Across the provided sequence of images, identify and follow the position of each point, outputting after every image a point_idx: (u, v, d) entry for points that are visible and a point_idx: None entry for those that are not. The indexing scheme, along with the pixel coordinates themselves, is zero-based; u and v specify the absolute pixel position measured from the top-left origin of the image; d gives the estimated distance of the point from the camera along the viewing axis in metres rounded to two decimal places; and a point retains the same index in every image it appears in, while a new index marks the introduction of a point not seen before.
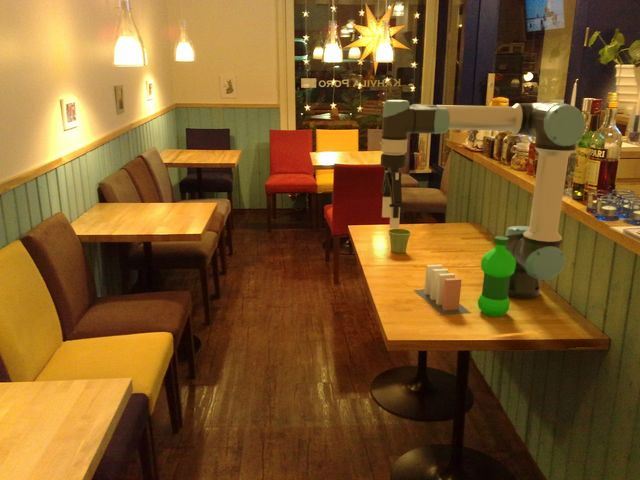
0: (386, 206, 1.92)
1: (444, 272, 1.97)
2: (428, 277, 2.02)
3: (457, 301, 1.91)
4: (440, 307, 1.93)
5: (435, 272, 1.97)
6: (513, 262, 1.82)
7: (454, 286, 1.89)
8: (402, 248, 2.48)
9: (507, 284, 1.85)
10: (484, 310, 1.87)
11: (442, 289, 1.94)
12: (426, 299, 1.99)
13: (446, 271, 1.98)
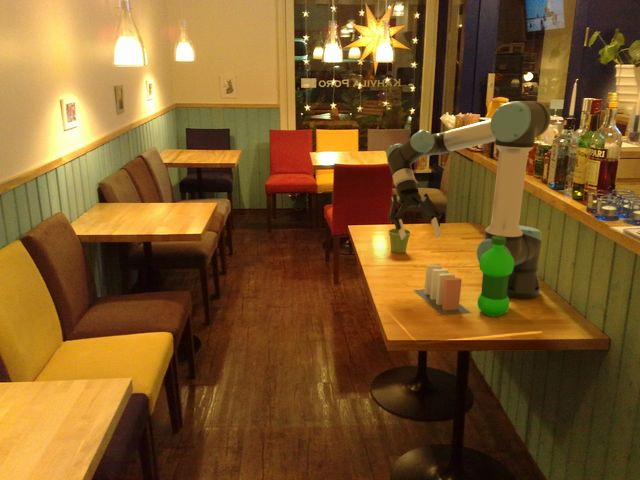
0: (434, 227, 2.12)
1: (444, 272, 1.97)
2: (428, 277, 2.02)
3: (457, 301, 1.91)
4: (440, 307, 1.93)
5: (435, 272, 1.97)
6: (511, 261, 1.82)
7: (454, 286, 1.89)
8: (402, 248, 2.48)
9: (506, 284, 1.85)
10: (484, 310, 1.87)
11: (442, 289, 1.94)
12: (426, 299, 1.99)
13: (446, 271, 1.98)
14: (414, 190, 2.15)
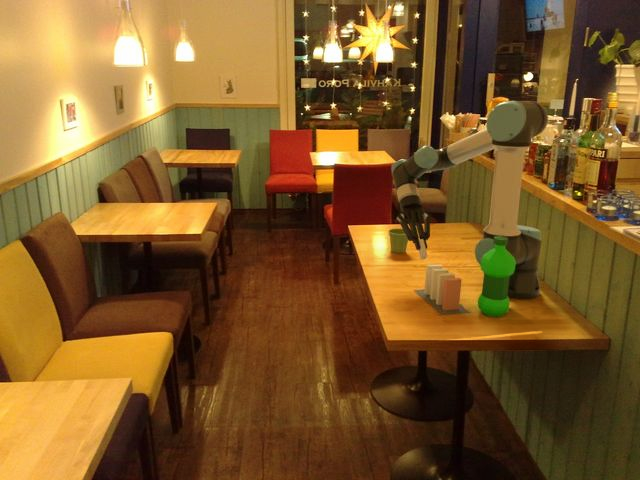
0: None
1: (444, 272, 1.97)
2: (428, 277, 2.02)
3: (457, 301, 1.91)
4: (440, 307, 1.93)
5: (435, 272, 1.97)
6: (513, 262, 1.82)
7: (454, 286, 1.89)
8: (402, 248, 2.48)
9: (507, 284, 1.84)
10: (484, 310, 1.87)
11: (442, 289, 1.94)
12: (426, 299, 1.99)
13: (446, 271, 1.98)
14: (417, 205, 2.16)
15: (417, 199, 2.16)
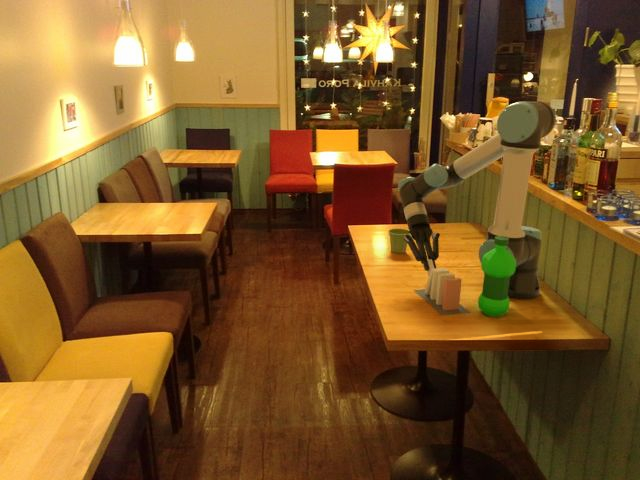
0: (430, 269, 2.05)
1: (445, 273, 1.97)
2: (430, 280, 2.00)
3: (457, 301, 1.91)
4: (440, 307, 1.93)
5: (436, 273, 1.96)
6: (513, 262, 1.82)
7: (454, 286, 1.89)
8: (402, 248, 2.48)
9: (507, 284, 1.84)
10: (484, 310, 1.87)
11: (442, 289, 1.94)
12: (426, 299, 1.99)
13: (447, 272, 1.97)
14: (425, 224, 2.11)
15: (425, 218, 2.10)
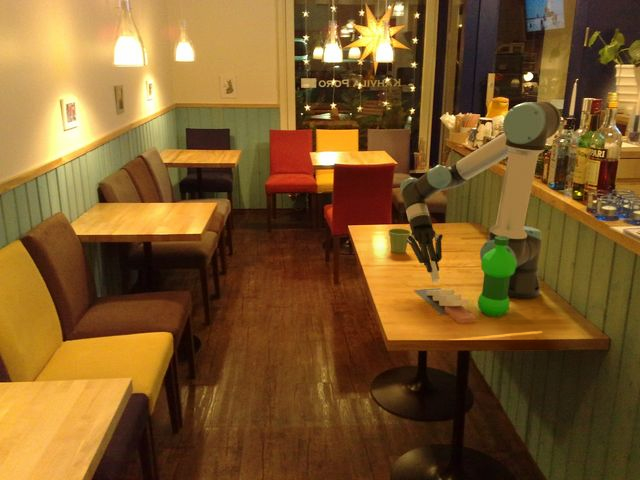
0: None
1: (456, 299, 1.90)
2: (435, 295, 1.97)
3: None
4: (440, 307, 1.93)
5: (447, 300, 1.89)
6: (513, 262, 1.82)
7: None
8: (402, 248, 2.48)
9: (507, 284, 1.85)
10: (484, 310, 1.87)
11: None
12: (426, 299, 1.99)
13: (458, 299, 1.90)
14: (428, 226, 2.09)
15: (428, 219, 2.08)
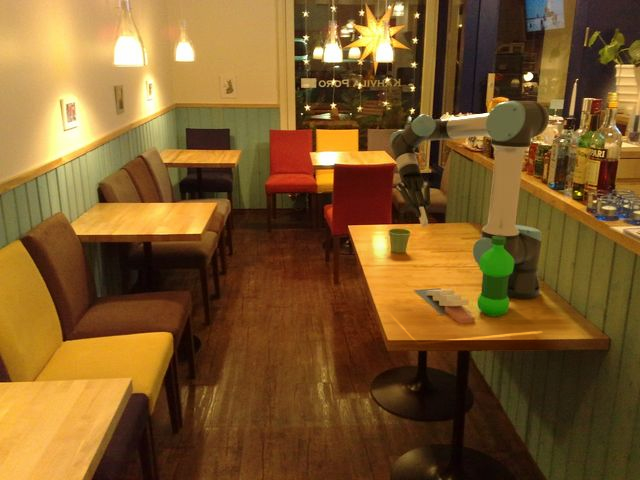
0: None
1: (456, 299, 1.90)
2: (435, 295, 1.97)
3: None
4: (440, 307, 1.93)
5: (447, 300, 1.89)
6: (511, 261, 1.82)
7: None
8: (402, 248, 2.48)
9: (506, 284, 1.85)
10: (484, 310, 1.87)
11: None
12: (426, 299, 1.99)
13: (458, 299, 1.90)
14: (417, 174, 2.17)
15: (416, 168, 2.16)
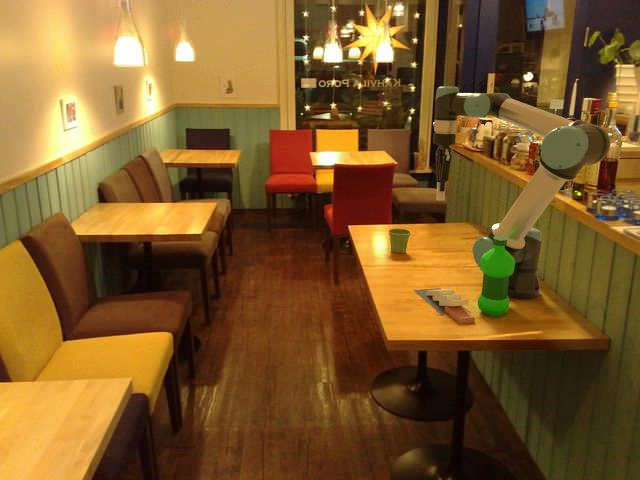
0: None
1: (456, 299, 1.90)
2: (435, 295, 1.97)
3: None
4: (440, 307, 1.93)
5: (447, 300, 1.89)
6: (512, 262, 1.81)
7: None
8: (402, 248, 2.48)
9: (506, 284, 1.84)
10: (484, 310, 1.87)
11: None
12: (426, 299, 1.99)
13: (458, 299, 1.90)
14: None
15: None
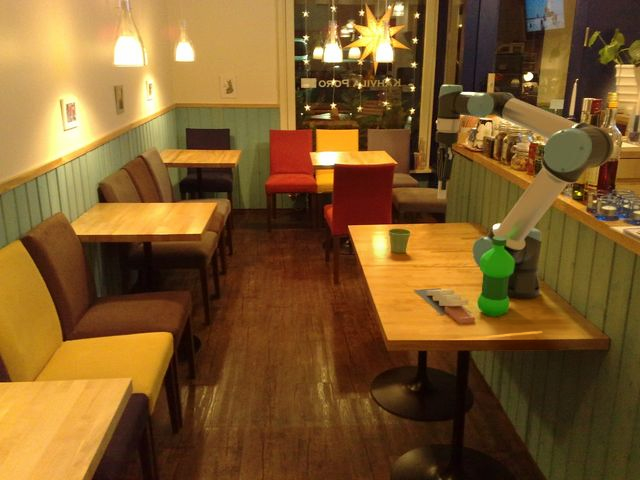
0: None
1: (456, 299, 1.90)
2: (435, 295, 1.97)
3: None
4: (440, 307, 1.93)
5: (447, 300, 1.89)
6: (512, 262, 1.81)
7: None
8: (402, 248, 2.48)
9: (506, 284, 1.84)
10: (484, 310, 1.87)
11: None
12: (426, 299, 1.99)
13: (458, 299, 1.90)
14: None
15: None
